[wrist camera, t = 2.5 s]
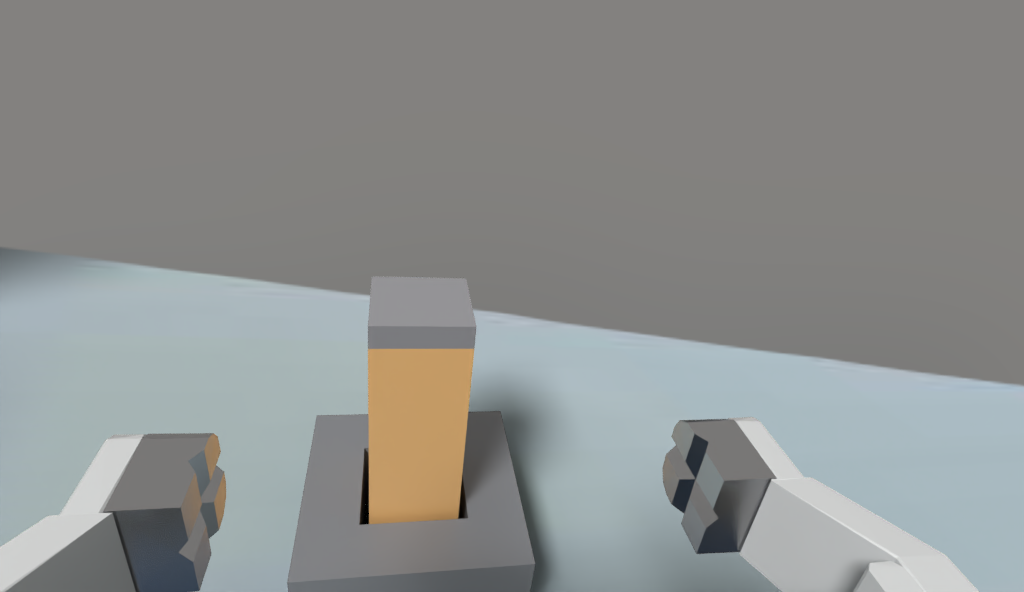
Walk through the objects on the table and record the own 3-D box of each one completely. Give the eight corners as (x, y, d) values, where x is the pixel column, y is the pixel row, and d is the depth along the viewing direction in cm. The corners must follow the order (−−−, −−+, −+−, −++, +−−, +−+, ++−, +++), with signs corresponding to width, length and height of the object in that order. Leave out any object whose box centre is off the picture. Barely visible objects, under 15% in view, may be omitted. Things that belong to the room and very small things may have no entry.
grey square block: (293, 643, 25) (287, 582, 23) (319, 470, 34) (316, 415, 32) (524, 622, 27) (535, 564, 25) (493, 463, 36) (500, 411, 34)
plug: (369, 575, 28) (367, 326, 22) (372, 509, 32) (371, 276, 25) (453, 569, 29) (476, 326, 23) (447, 505, 33) (465, 278, 26)
